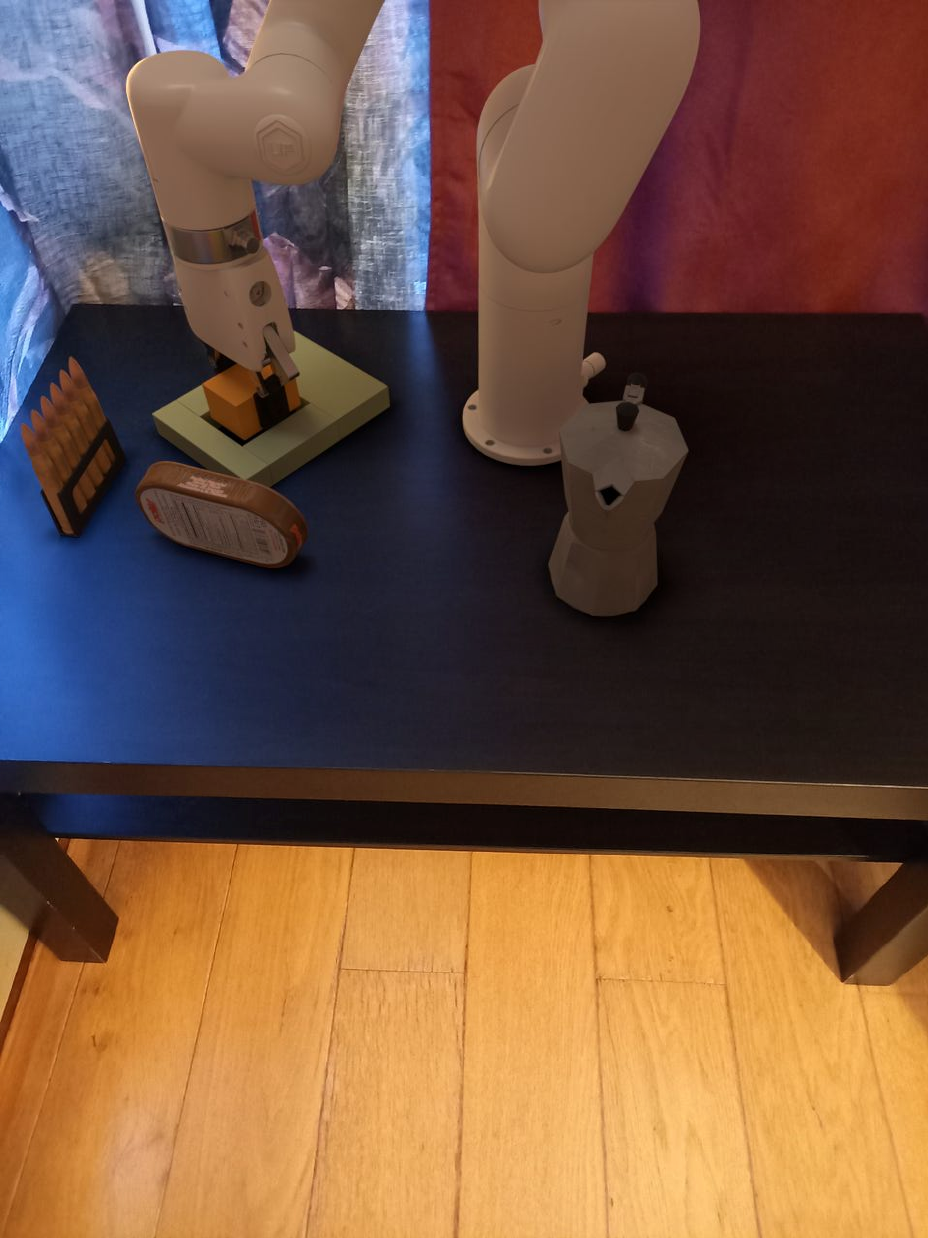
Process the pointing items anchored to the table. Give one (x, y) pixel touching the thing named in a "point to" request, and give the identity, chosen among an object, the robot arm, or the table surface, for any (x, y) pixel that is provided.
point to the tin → (221, 514)
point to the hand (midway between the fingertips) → (256, 407)
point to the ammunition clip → (72, 451)
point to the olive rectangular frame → (324, 417)
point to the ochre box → (240, 399)
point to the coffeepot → (614, 501)
